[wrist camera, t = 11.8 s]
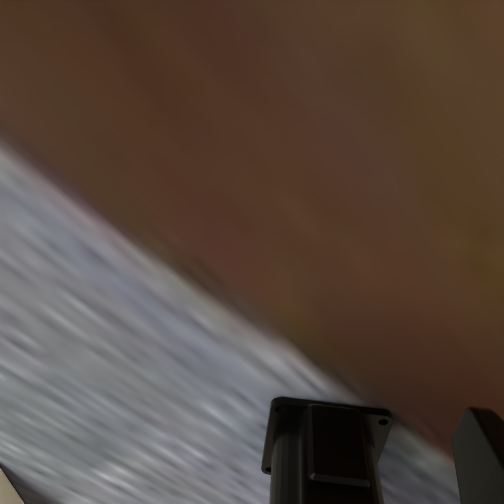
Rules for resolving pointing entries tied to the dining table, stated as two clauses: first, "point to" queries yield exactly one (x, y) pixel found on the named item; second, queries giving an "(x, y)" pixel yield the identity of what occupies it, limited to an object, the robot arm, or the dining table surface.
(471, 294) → the dining table surface
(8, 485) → the gable box
